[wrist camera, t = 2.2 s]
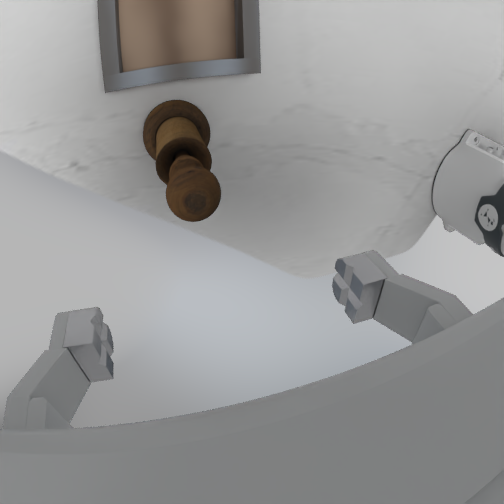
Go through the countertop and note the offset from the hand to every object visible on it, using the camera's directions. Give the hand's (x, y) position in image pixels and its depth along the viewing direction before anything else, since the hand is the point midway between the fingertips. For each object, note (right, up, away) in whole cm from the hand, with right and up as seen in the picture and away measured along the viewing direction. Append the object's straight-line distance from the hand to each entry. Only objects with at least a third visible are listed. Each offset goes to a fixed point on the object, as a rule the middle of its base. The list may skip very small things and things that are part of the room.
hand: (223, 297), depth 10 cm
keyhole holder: (-6, +27, +11) cm, 30 cm away
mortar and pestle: (-7, +14, +20) cm, 25 cm away
